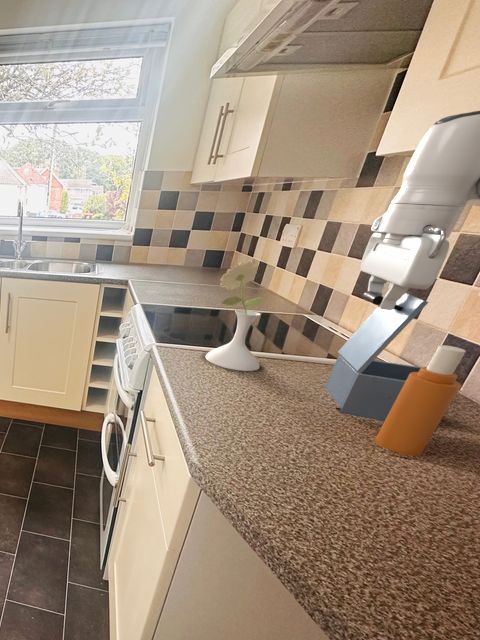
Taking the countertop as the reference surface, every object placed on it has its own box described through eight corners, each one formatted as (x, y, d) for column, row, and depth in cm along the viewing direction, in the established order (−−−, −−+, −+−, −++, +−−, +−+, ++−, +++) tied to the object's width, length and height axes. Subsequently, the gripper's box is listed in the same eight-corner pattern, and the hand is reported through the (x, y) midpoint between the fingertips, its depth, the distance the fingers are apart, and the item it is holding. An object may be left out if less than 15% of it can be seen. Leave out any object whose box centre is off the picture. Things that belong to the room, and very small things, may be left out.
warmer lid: (398, 289, 78) (367, 278, 79) (428, 302, 68) (393, 288, 70) (341, 353, 85) (314, 342, 87) (361, 373, 76) (330, 359, 77)
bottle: (409, 446, 71) (467, 346, 63) (425, 463, 66) (489, 357, 58) (368, 437, 73) (418, 339, 65) (380, 453, 68) (436, 350, 61)
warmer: (403, 407, 84) (425, 367, 80) (432, 434, 75) (458, 390, 71) (321, 393, 89) (338, 354, 86) (338, 416, 80) (358, 374, 76)
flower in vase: (247, 362, 105) (282, 260, 94) (265, 380, 95) (306, 267, 84) (191, 356, 107) (219, 256, 97) (202, 372, 97) (235, 262, 87)
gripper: (478, 229, 60) (427, 321, 66) (413, 223, 77) (377, 297, 83) (421, 225, 62) (377, 314, 68) (370, 220, 79) (338, 292, 85)
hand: (377, 305), depth 76 cm, fingers closed on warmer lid, 5 cm apart
